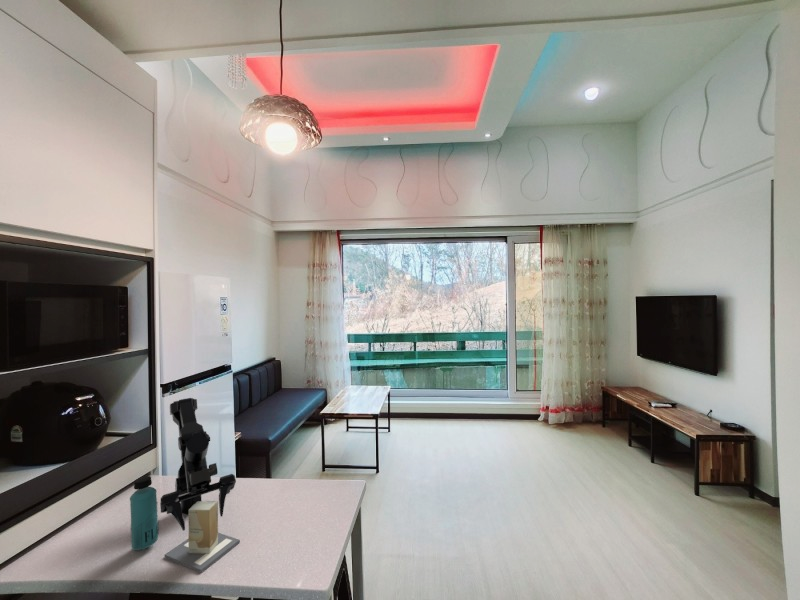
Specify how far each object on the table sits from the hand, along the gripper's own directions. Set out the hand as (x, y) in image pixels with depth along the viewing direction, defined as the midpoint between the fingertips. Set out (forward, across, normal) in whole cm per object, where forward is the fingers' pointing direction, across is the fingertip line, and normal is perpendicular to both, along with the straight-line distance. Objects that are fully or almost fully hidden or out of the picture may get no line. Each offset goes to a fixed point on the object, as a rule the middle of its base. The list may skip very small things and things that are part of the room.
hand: (203, 522), depth 96 cm
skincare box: (+5, 0, +7) cm, 8 cm away
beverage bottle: (-4, -13, +17) cm, 22 cm away
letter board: (+5, 0, +8) cm, 9 cm away
